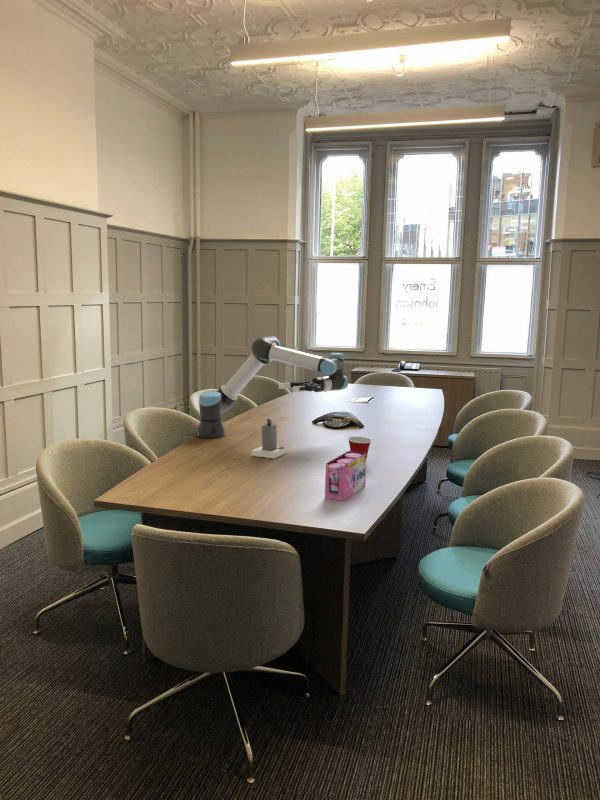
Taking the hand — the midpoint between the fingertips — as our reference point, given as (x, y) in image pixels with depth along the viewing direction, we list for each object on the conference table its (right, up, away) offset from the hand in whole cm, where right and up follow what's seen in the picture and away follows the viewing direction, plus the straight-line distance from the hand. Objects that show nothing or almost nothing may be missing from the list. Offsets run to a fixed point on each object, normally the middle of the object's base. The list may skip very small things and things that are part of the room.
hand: (286, 387), depth 315 cm
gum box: (+25, -42, -71) cm, 86 cm away
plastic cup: (+34, -35, -31) cm, 58 cm away
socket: (-8, -33, -13) cm, 36 cm away
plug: (-8, -32, -14) cm, 35 cm away
